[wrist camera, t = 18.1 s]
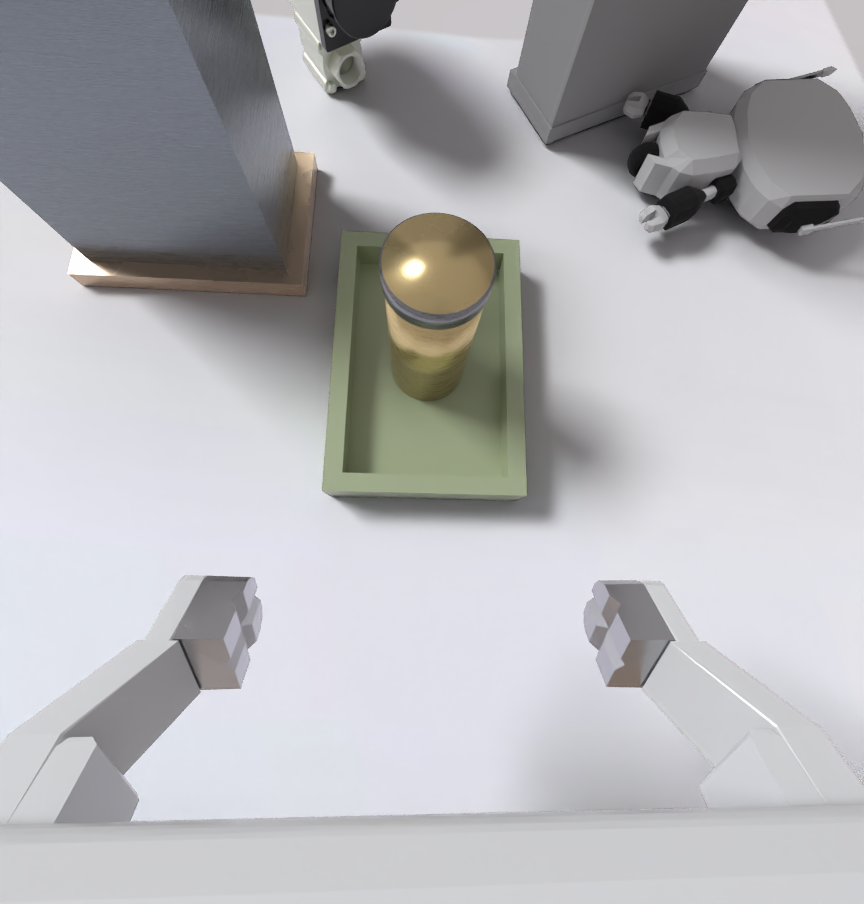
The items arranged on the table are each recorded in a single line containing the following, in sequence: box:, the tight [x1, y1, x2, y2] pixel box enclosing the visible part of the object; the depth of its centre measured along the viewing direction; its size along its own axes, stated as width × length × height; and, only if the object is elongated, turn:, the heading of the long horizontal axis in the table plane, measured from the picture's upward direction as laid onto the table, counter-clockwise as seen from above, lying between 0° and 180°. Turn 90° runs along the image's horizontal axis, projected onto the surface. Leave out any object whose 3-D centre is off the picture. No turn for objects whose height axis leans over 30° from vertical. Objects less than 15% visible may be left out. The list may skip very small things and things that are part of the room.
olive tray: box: [322, 231, 527, 501], centre depth 26 cm, size 16×11×2 cm
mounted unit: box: [0, 0, 318, 296], centre depth 19 cm, size 10×14×21 cm
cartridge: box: [379, 213, 496, 401], centre depth 21 cm, size 5×5×10 cm
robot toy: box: [623, 66, 864, 236], centre depth 30 cm, size 12×4×15 cm
